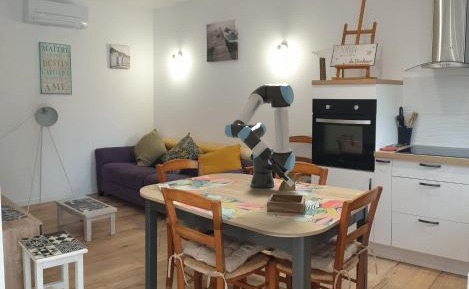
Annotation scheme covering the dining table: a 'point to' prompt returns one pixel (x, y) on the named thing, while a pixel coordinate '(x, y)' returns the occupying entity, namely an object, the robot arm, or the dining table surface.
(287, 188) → the rock
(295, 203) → the crate
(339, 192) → the dining table surface
